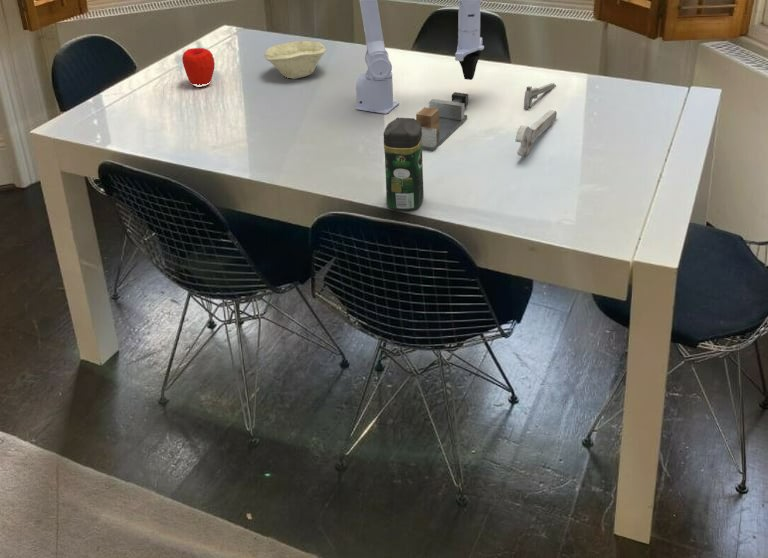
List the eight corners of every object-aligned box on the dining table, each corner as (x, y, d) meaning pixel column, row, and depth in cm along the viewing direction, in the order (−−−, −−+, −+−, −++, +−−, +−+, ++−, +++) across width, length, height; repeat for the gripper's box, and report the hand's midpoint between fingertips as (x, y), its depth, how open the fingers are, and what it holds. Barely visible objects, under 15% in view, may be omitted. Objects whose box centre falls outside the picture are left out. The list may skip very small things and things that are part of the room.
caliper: (527, 111, 246) (528, 89, 243) (523, 111, 246) (524, 88, 243) (556, 87, 261) (557, 65, 257) (552, 86, 261) (553, 64, 258)
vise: (400, 145, 229) (399, 126, 227) (435, 114, 246) (435, 96, 243) (433, 151, 226) (433, 132, 223) (467, 118, 242) (467, 100, 240)
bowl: (290, 98, 272) (251, 65, 270) (315, 73, 285) (278, 41, 284) (313, 66, 263) (273, 32, 261) (338, 42, 276) (300, 9, 274)
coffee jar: (391, 191, 208) (388, 113, 199) (426, 193, 207) (424, 114, 197) (382, 211, 200) (379, 131, 191) (418, 213, 199) (417, 132, 189)
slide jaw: (429, 116, 242) (429, 101, 240) (445, 101, 251) (445, 87, 249) (461, 120, 239) (461, 106, 237) (477, 105, 247) (477, 91, 245)
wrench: (555, 130, 241) (520, 163, 217) (548, 129, 242) (513, 162, 217) (558, 100, 238) (523, 130, 213) (551, 99, 238) (515, 129, 214)
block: (416, 136, 231) (416, 114, 228) (424, 129, 235) (424, 107, 232) (431, 139, 230) (430, 116, 226) (439, 131, 233) (439, 109, 230)
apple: (221, 80, 274) (216, 44, 269) (210, 91, 267) (205, 54, 261) (193, 79, 276) (188, 43, 270) (181, 89, 269) (175, 53, 263)
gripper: (473, 38, 236) (472, 89, 243) (493, 22, 247) (492, 71, 254) (447, 35, 238) (447, 86, 246) (468, 19, 249) (468, 68, 257)
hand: (468, 78), depth 250 cm, fingers closed
